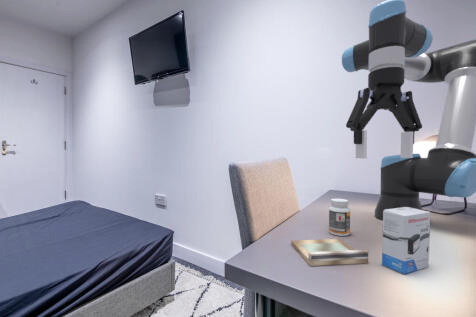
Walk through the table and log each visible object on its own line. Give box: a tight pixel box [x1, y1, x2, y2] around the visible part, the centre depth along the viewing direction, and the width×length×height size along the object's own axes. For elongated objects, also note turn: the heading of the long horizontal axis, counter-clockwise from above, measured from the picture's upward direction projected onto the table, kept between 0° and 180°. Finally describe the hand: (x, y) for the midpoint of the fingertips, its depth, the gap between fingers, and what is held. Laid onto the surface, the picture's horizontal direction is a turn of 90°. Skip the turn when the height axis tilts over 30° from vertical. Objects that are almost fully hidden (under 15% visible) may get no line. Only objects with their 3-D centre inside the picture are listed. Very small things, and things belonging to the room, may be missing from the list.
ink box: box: [381, 207, 431, 275], centre depth 51 cm, size 8×5×12 cm, turn 114°
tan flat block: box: [290, 238, 369, 267], centre depth 58 cm, size 13×12×2 cm
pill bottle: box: [328, 198, 351, 237], centre depth 72 cm, size 6×6×10 cm
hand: (384, 158), depth 60 cm, fingers open, 13 cm apart
